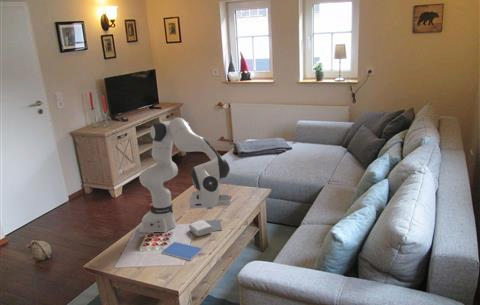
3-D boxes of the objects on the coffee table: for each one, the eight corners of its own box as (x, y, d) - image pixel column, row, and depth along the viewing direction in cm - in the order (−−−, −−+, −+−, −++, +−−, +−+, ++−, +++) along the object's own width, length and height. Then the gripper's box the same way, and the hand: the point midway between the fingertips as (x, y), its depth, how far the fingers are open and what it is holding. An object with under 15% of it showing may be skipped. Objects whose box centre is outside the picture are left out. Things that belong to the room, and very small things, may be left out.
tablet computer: (160, 254, 212) (160, 251, 212) (174, 243, 223) (174, 240, 222) (190, 262, 203) (190, 259, 203) (203, 250, 214) (203, 248, 214)
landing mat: (191, 233, 231) (191, 232, 231) (190, 222, 245) (190, 222, 245) (221, 230, 234) (221, 229, 233) (220, 219, 247) (219, 219, 247)
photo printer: (213, 232, 231) (203, 224, 241) (212, 225, 230) (202, 218, 240) (197, 237, 226) (187, 229, 236) (196, 230, 224) (187, 222, 234)
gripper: (230, 189, 193) (229, 200, 205) (188, 192, 190) (189, 203, 202) (232, 201, 190) (230, 211, 202) (189, 204, 187) (190, 215, 199)
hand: (209, 207), depth 202 cm, fingers closed
